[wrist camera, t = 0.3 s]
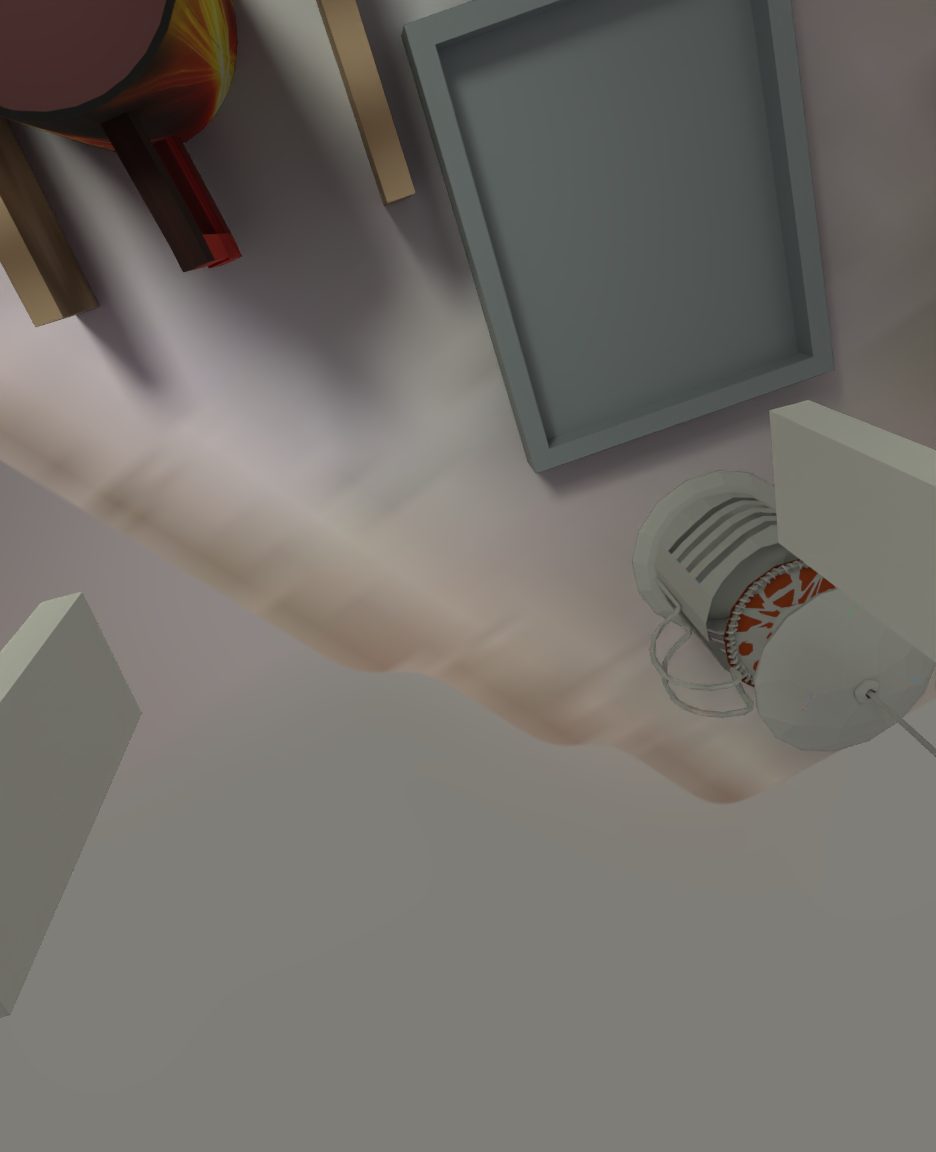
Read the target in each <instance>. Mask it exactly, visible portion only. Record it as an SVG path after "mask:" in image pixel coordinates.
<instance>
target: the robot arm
mask: <svg viewBox="0 0 936 1152" xmlns="http://www.w3.org/2000/svg"><path fill="white" fill-rule="evenodd" d="M769 414H770V429H771V443H772V458H773V472H774V487H775V501H776V515H777V530H778V543H779V544H781V545H782V546H783V547H784V548H786V549H787V550H788V551H790V552H791V553H792V554H794V555H795V556H796V557H798V558H799V559H800V560H802V561H803V562H804V563H805V564H807V565H808V566H809V567H811V568H812V569H813V570H815V571H816V572H817V573H819V574H820V575H821V576H823V577H824V578H825V579H826V580H828V581H829V582H830V583H832V584H833V585H834V586H836V587H837V588H838V589H840V590H841V591H842V592H844V593H845V594H846V595H847V596H849V597H850V598H851V599H853V600H854V601H855V602H857V603H858V604H859V605H861V606H862V607H863V608H865V609H866V610H867V611H868V612H870V613H871V614H872V615H874V616H875V617H876V618H878V619H879V620H880V621H882V622H883V623H884V624H886V625H887V626H888V627H889V628H891V629H892V630H893V631H895V632H896V633H897V634H899V635H900V636H901V637H903V638H904V639H905V640H907V641H908V642H909V643H910V644H912V645H913V646H914V647H916V648H917V649H918V650H920V651H921V652H922V653H924V654H925V655H926V656H928V657H929V658H930V659H931V660H933V661H934V662H935V663H936V450H934V449H931V448H929V447H926V446H924V445H921V444H919V443H916V442H914V441H911V440H909V439H906V438H904V437H901V436H898V435H896V434H893V433H891V432H888V431H886V430H883V429H881V428H878V427H876V426H873V425H871V424H868V423H866V422H863V421H861V420H858V419H855V418H853V417H850V416H848V415H845V414H843V413H840V412H838V411H835V410H833V409H830V408H828V407H825V406H823V405H820V404H817V403H815V402H812V401H810V400H807V401H803V402H799V403H795V404H791V405H788V406H784V407H780V408H776V409H772V410H769ZM141 714H142V712H141V710H140V708H139V707H138V704H137V702H136V700H135V698H134V696H133V694H132V692H131V690H130V688H129V686H128V684H127V682H126V680H125V678H124V676H123V674H122V672H121V670H120V668H119V666H118V663H117V661H116V659H115V657H114V655H113V654H112V651H111V649H110V647H109V645H108V643H107V641H106V639H105V637H104V635H103V633H102V631H101V629H100V627H99V625H98V623H97V621H96V619H95V617H94V615H93V613H92V611H91V608H90V606H89V605H88V602H87V600H86V598H85V597H84V594H83V592H79V593H75V594H71V595H67V596H63V597H60V598H56V599H52V600H48V601H45V602H41V603H40V605H39V606H38V607H37V608H36V609H35V611H34V612H33V613H32V614H31V615H30V617H29V618H28V619H27V620H26V622H25V623H24V624H23V625H22V626H21V628H20V629H19V630H18V631H17V633H16V634H15V635H14V636H13V637H12V638H11V640H10V641H9V642H8V643H7V644H6V646H5V647H4V648H3V649H2V651H1V652H0V1018H1V1017H4V1016H8V1015H10V1014H11V1012H12V1010H13V1007H14V1005H15V1003H16V1000H17V998H18V996H19V993H20V991H21V989H22V986H23V984H24V982H25V980H26V977H27V975H28V973H29V971H30V968H31V966H32V964H33V961H34V959H35V957H36V954H37V952H38V950H39V948H40V945H41V943H42V941H43V939H44V936H45V934H46V931H47V929H48V927H49V925H50V922H51V920H52V918H53V916H54V913H55V911H56V909H57V906H58V904H59V901H60V900H61V897H62V895H63V892H64V890H65V888H66V886H67V884H68V881H69V879H70V877H71V874H72V872H73V870H74V867H75V865H76V863H77V861H78V858H79V856H80V854H81V851H82V849H83V847H84V845H85V842H86V840H87V837H88V835H89V833H90V831H91V828H92V826H93V824H94V822H95V819H96V817H97V815H98V812H99V810H100V808H101V805H102V803H103V801H104V799H105V796H106V794H107V792H108V790H109V787H110V785H111V783H112V780H113V778H114V776H115V773H116V771H117V769H118V766H119V764H120V762H121V760H122V757H123V755H124V753H125V751H126V748H127V746H128V744H129V741H130V739H131V737H132V734H133V732H134V730H135V728H136V725H137V723H138V721H139V718H140V716H141Z"/></svg>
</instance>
